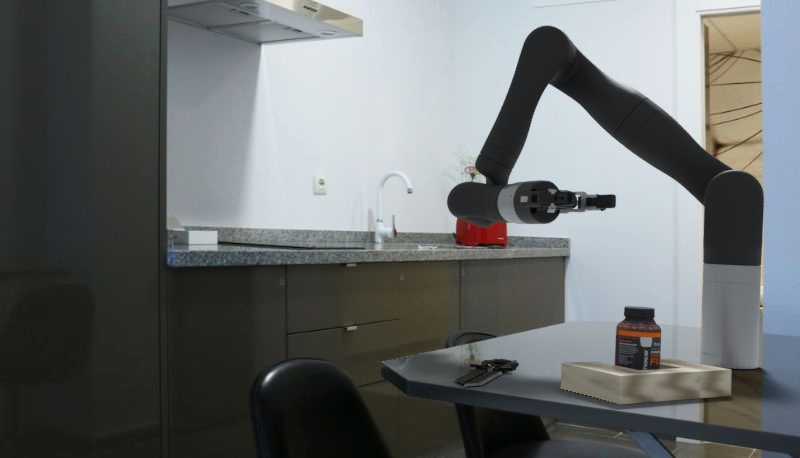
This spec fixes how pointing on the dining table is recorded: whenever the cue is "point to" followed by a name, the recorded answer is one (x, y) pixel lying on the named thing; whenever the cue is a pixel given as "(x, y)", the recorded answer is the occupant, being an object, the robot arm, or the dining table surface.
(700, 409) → the dining table surface
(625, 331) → the supplement bottle
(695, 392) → the slot dock
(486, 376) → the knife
